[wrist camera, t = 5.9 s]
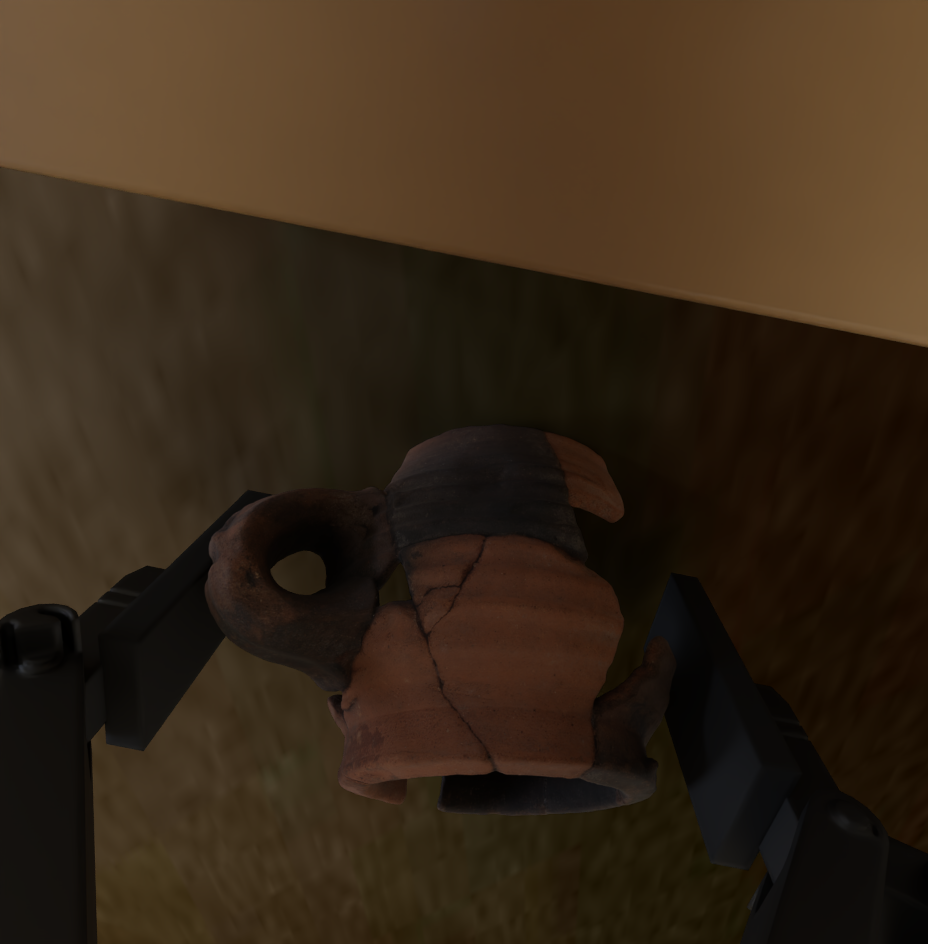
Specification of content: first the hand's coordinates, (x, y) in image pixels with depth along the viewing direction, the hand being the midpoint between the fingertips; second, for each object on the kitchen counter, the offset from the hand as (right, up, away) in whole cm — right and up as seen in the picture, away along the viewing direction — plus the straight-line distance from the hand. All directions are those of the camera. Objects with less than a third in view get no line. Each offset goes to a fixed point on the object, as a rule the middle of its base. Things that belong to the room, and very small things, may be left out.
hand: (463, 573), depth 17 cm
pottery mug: (0, 0, +1) cm, 1 cm away
